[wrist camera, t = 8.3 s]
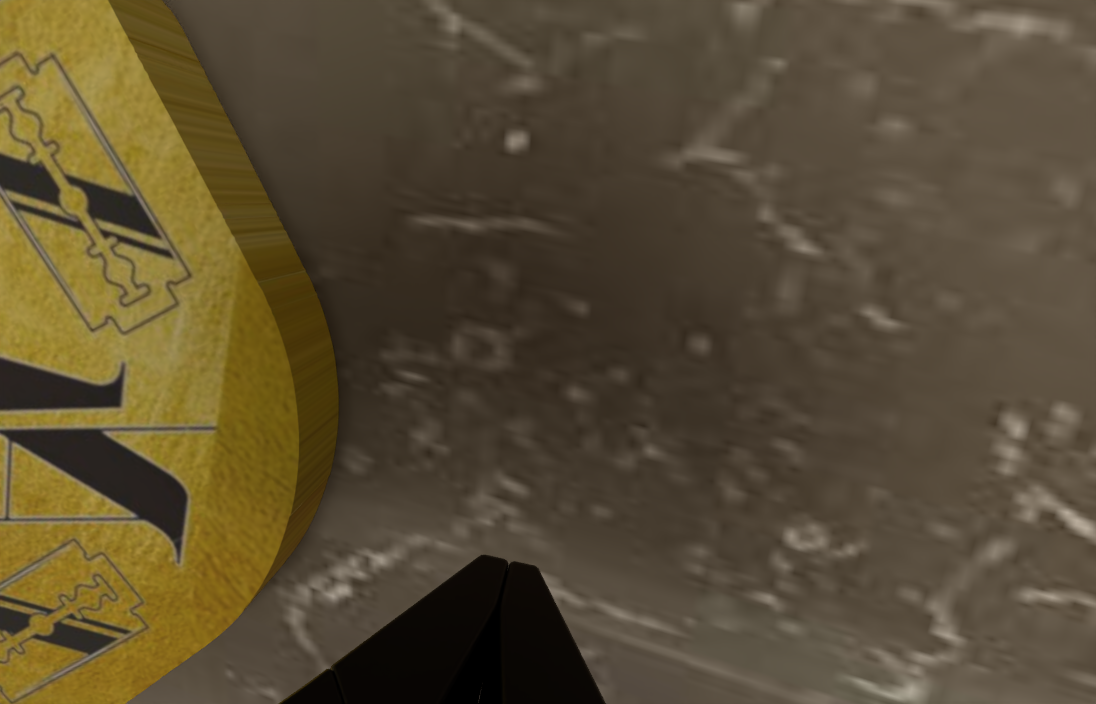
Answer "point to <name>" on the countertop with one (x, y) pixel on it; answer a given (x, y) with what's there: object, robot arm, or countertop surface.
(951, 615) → the countertop surface
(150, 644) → the sign
